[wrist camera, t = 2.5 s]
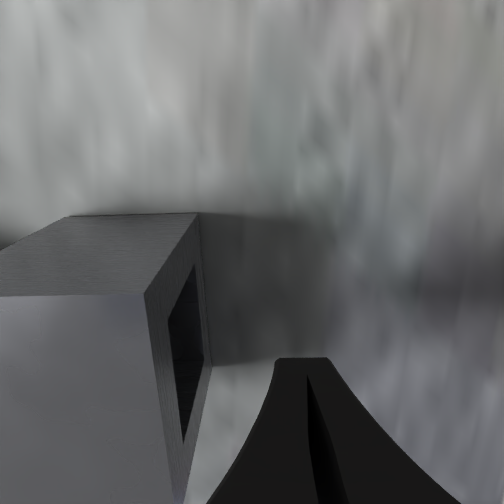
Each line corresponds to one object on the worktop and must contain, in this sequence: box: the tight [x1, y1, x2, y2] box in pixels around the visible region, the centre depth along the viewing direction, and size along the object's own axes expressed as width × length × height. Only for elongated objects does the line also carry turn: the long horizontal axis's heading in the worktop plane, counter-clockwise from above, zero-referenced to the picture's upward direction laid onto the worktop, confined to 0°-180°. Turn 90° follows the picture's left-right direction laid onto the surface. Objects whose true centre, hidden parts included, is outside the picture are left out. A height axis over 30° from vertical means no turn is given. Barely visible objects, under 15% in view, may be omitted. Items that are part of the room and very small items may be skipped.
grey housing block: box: [0, 213, 212, 504], centre depth 12 cm, size 5×7×7 cm
